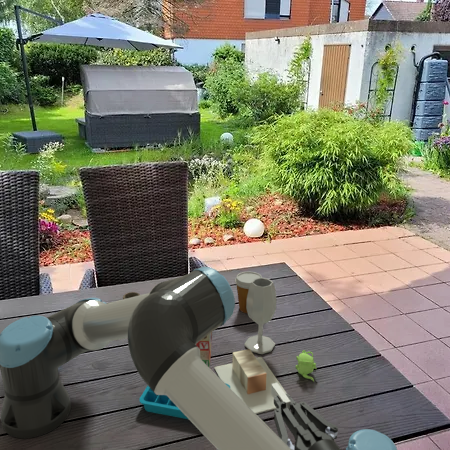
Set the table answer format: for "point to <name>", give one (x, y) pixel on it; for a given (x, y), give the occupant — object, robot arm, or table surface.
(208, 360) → the stack of blocks
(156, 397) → the ice cube tray
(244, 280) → the disposable coffee cup
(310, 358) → the green monster figurine
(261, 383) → the birch block
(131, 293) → the mate gourd
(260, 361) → the rubber mat
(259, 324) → the wineglass
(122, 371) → the table surface
